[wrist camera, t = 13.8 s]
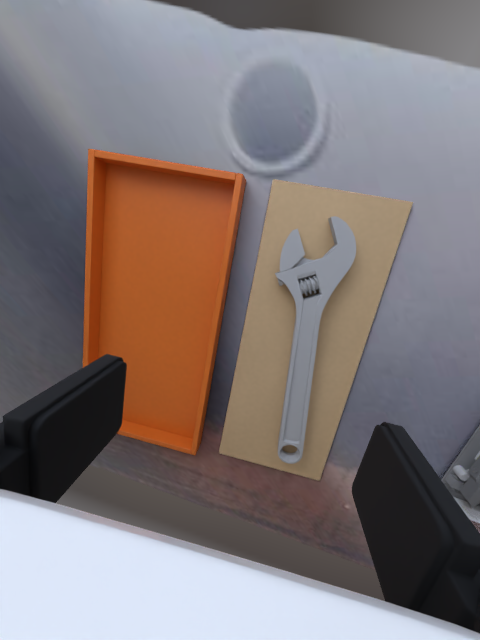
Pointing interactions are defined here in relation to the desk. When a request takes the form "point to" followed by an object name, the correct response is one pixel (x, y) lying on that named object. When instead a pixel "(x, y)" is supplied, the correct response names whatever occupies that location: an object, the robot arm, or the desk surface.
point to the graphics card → (466, 477)
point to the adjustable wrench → (308, 323)
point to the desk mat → (334, 329)
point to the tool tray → (159, 286)
